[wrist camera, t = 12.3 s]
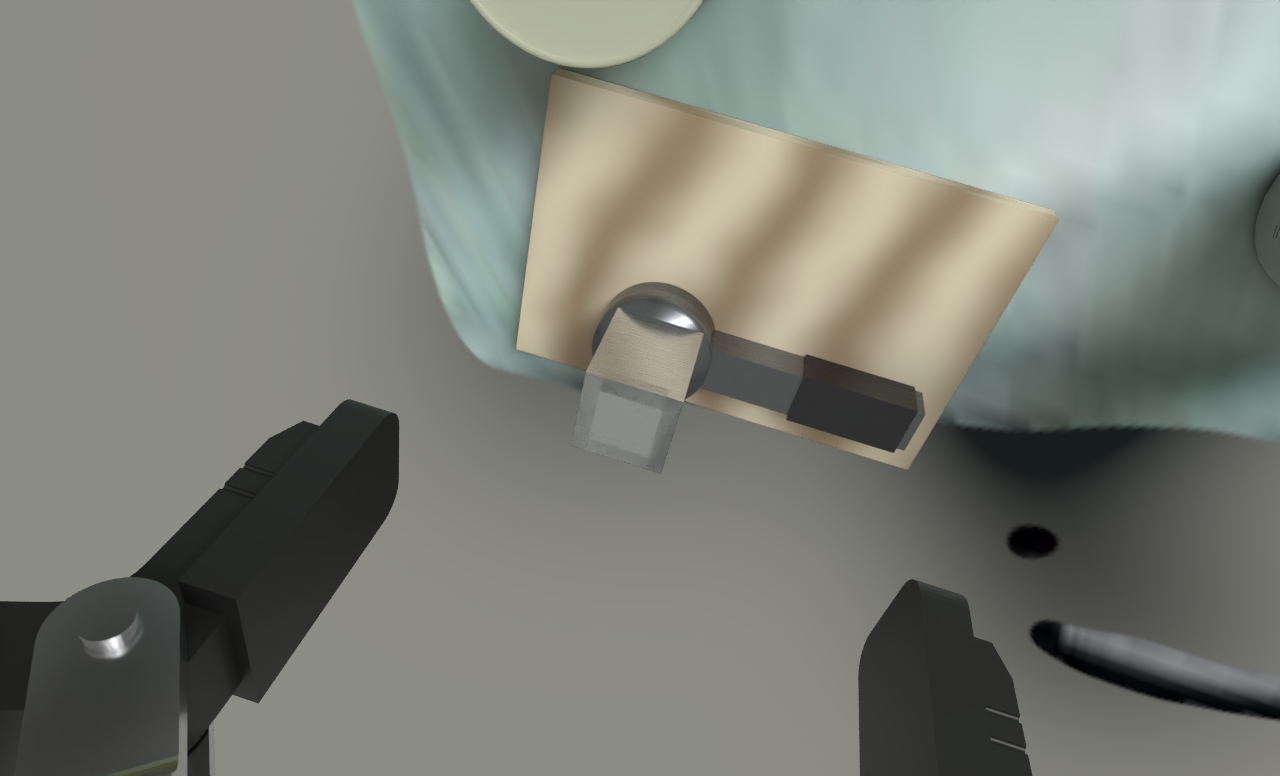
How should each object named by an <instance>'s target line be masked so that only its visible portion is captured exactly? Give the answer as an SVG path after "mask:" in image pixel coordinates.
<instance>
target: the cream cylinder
mask: <svg viewBox="0 0 1280 776" xmlns="http://www.w3.org/2000/svg"><path fill="white" fill-rule="evenodd" d="M469 1H470V2H471V4H472V5H473V6H474V8H475V9H476V10H477V11H478V12H479V14H480V15H481V16H482V17H483V18H484V19H485V20H486V21H487V22H488V23H489V24H490V25H491V26H492V27H493V28H494V29H495V30H496V31H497V32H498V33H499V34H501V35H502V36H503V37H504V38H506V39H507V40H508V41H510V42H511V43H513V44H514V45H516V46H517V47H519V48H520V49H522V50H524V51H525V52H527V53H529V54H531V55H533V56H535V57H538V58H540V59H543V60H545V61H548V62H551V63H555V64H558V65H562V66H568V67H574V68H605V67H611V66H617V65H620V64H624V63H627V62H630V61H633V60H635V59H638V58H640V57H642V56H644V55H646V54H648V53H650V52H652V51H653V50H655V49H657V48H658V47H659V46H661V45H662V44H664V43H665V42H666V41H667V40H669V39H670V38H671V37H673V36H674V35H675V34H676V33H677V32H678V31H679V30H680V29H681V28H682V27H683V26H684V25H685V24H686V23H687V22H688V21H689V19H690V18H691V17H692V16H693V14H694V13H695V12H696V10H697V9H698V8H699V6H700V5H701V3H702V2H703V0H469Z"/></svg>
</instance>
